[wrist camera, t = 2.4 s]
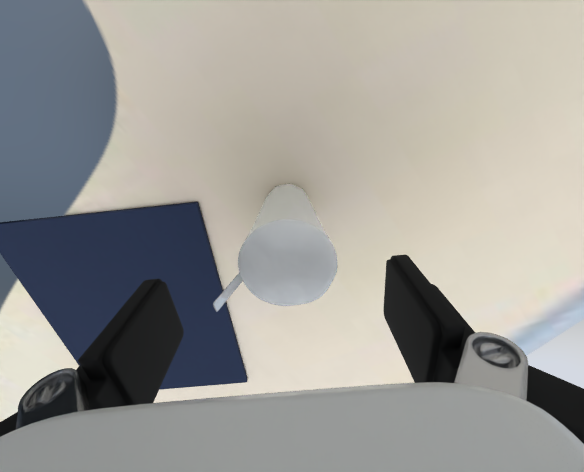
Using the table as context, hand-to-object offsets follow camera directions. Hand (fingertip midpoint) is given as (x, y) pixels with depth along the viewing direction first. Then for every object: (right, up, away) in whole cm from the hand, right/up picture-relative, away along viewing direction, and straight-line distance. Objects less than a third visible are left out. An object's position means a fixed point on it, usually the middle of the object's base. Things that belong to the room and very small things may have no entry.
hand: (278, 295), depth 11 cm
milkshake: (0, +5, +8) cm, 10 cm away
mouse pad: (-13, -5, +13) cm, 19 cm away
